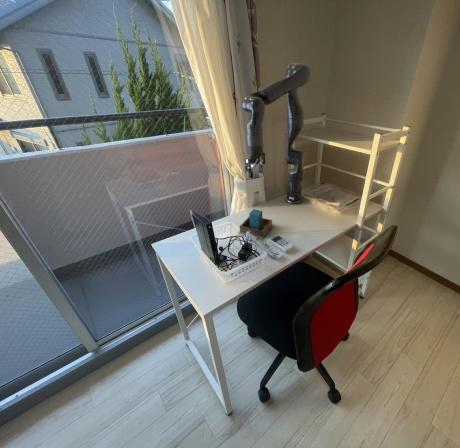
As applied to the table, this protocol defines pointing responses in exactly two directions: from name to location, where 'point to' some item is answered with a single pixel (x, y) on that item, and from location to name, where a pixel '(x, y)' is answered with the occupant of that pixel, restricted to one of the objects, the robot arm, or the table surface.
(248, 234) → the caliper
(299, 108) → the robot arm
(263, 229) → the box
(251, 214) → the block
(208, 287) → the table surface
